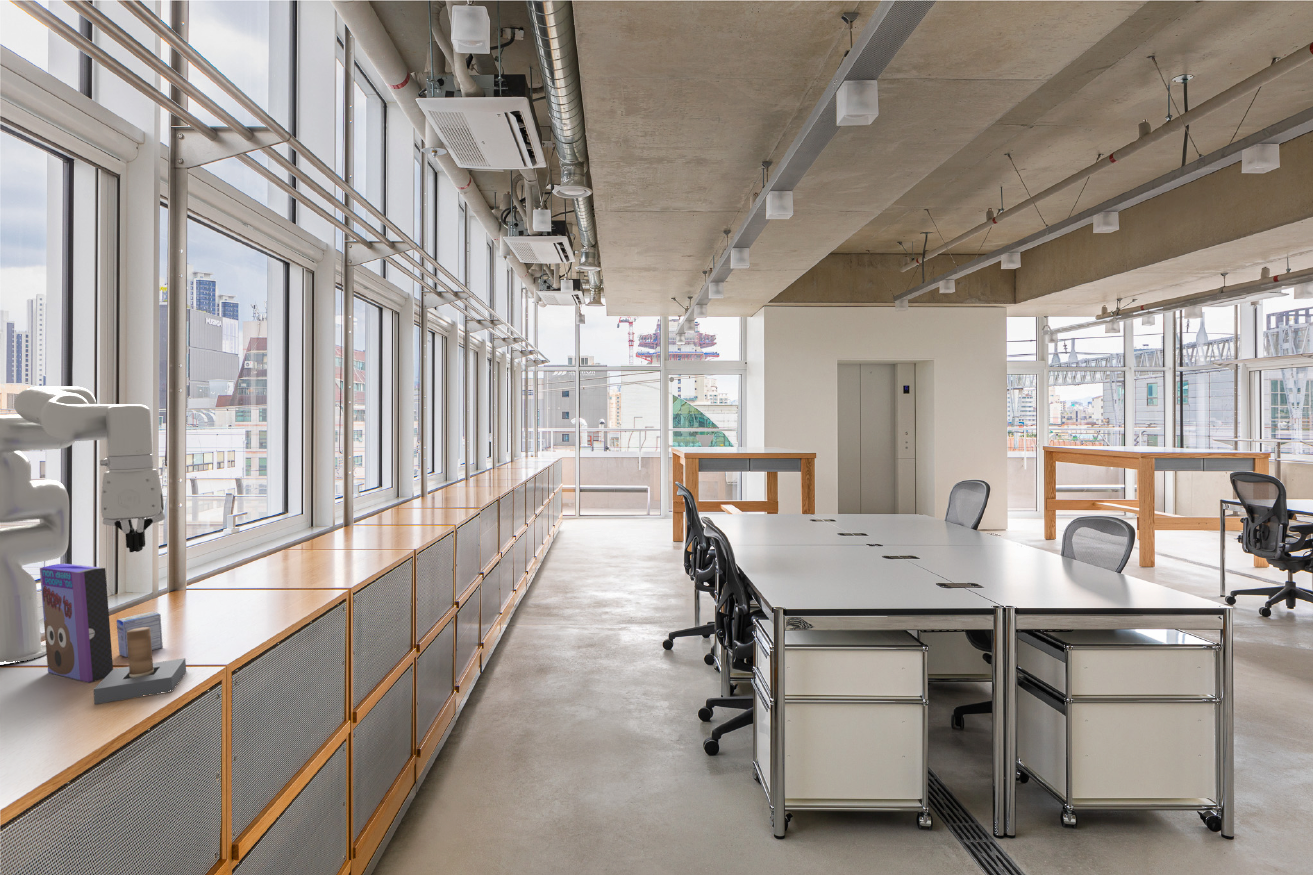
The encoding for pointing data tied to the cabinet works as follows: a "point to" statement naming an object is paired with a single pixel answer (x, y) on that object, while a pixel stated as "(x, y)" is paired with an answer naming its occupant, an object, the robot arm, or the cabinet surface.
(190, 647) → the cabinet surface
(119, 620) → the medicine box
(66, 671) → the cereal box
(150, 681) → the board
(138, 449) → the robot arm
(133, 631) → the peg
